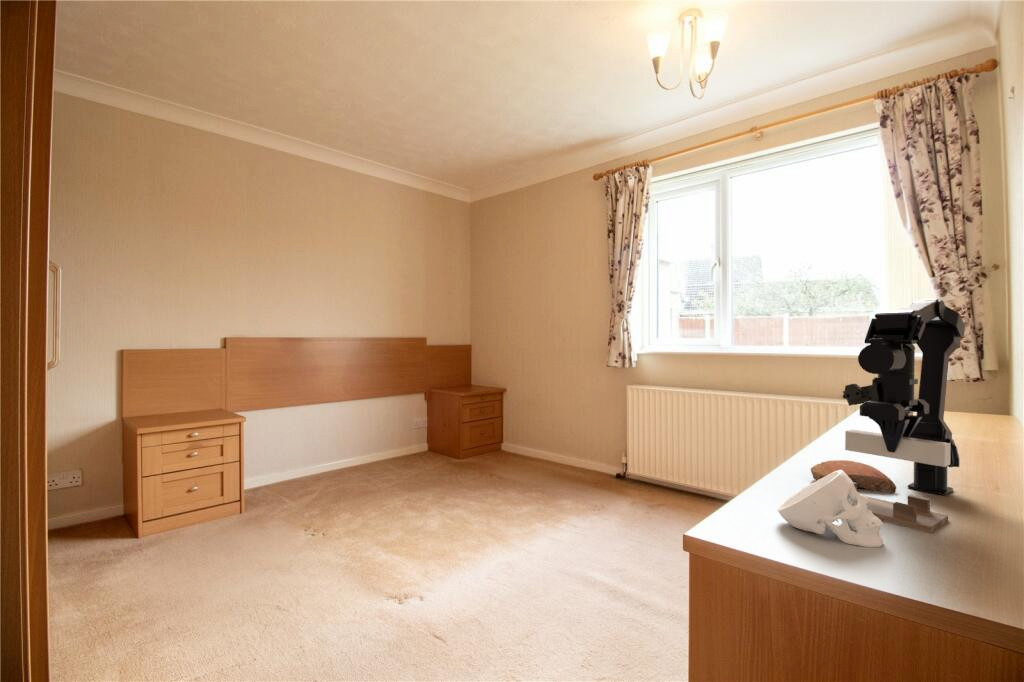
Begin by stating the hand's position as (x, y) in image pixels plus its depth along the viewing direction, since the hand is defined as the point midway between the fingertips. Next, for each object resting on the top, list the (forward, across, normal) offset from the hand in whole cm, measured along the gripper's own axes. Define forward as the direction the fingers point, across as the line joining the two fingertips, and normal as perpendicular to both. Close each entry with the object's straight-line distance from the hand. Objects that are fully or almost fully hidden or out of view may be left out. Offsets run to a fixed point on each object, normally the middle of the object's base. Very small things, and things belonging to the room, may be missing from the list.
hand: (894, 450), depth 95 cm
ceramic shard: (+12, -13, -13) cm, 22 cm away
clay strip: (+1, 0, 0) cm, 1 cm away
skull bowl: (+12, +24, -2) cm, 27 cm away
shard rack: (+12, +5, -2) cm, 13 cm away
